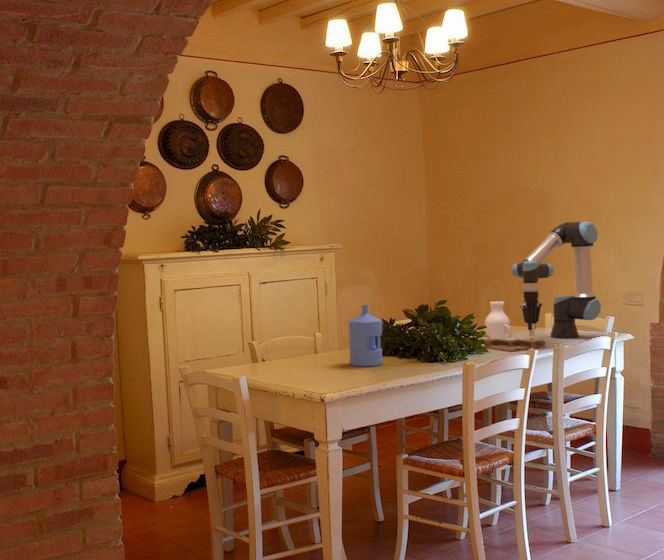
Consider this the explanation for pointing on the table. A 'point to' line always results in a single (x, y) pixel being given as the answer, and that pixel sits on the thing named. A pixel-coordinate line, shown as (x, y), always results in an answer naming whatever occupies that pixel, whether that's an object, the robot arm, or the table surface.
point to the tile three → (531, 340)
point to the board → (514, 345)
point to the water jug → (365, 340)
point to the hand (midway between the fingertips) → (531, 336)
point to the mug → (499, 330)
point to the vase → (496, 316)
